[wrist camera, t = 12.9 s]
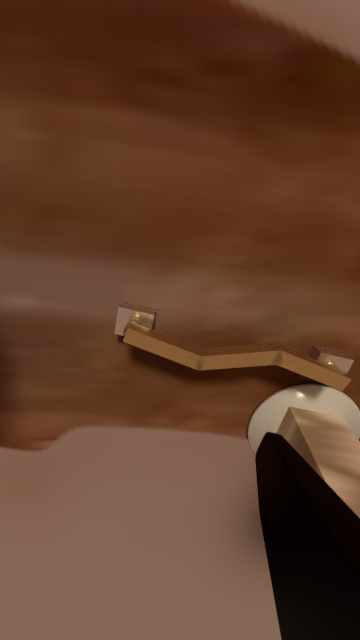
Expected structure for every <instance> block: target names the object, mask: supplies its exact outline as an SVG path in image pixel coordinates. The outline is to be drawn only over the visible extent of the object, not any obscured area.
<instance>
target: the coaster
mask: <svg viewBox="0 0 360 640" xmlns="http://www.w3.org/2000/svg"><path fill="white" fill-rule="evenodd" d="M289 406H290V407H295V408H300V409H304V410H309V411H314V412H318V413H323V414H328V415H332V416H337V417H342V418H343V419H344V421H345V422H346V423H347V425H348V426H349V428H350V429H351V431H352V432H353V433H354V435H355V436H356V438H357V439H358V440H359V438H360V411H359V409H358V407H357V406H356V404H355V403H354V402H353V401H352V400H351V399H350V397H348V396H347V395H346V394H345V393H343V392H342V391H340V390H338V389H336V388H333V387H330V386H327V385H322V384H299V385H294V386H290V387H287V388H284V389H281V390H279V391H277V392H275V393H273V394H272V395H270V396H269V397H267V398H266V399H265V400H263V401H262V402H261V403H260V404H259V405H258V406H257V408H256V409H255V410H254V412H253V413H252V415H251V417H250V420H249V423H248V429H247V435H248V440H249V444H250V446H251V449H252V451H253V453H254V454H255V455H256V452H257V449H258V447H259V445H260V443H261V441H262V439H263V437H264V435H265V433H266V432H273V433H277V431H278V429H279V426H280V424H281V422H282V420H283V418H284V416H285V414H286V412H287V410H288V407H289Z"/></svg>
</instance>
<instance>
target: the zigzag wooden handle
mask: <svg viewBox="0 0 360 640" xmlns="http://www.w3.org/2000/svg"><path fill="white" fill-rule="evenodd" d="M155 314H156V309H155V308H151V307H146V306H142V305H138V304H133V303H129V302H125V301H122V303H121V304H120V306H119V308H118V314H117V321H116V327H115V333H114V334H118V335H122V336H124V340H123V342H125V343H128V344H130V345H133V346H136V347H138V348H141V349H143V350H146V351H149V352H151V353H154V354H157V355H159V356H162V357H164V358H167V359H170V360H172V361H175V362H178V363H180V364H183V365H185V366H188V367H191V368H193V369H196V370H197V371H198V370H199V371H200V370H212V369H226V368H239V367H253V366H267V365H278V366H281V367H283V368H286V369H288V370H291V371H293V372H296V373H298V374H301V375H303V376H306V377H308V378H311V379H313V380H316V381H318V382H321V383H323V384H326V385H328V386H331V387H333V388H336V389H338V390H341V391H343V390H344V389H345V387H346V386H347V385H348V383H349V382H350V381H351V380H352V379H351V378H350V377H349V376H348V374H347V372H348V371H349V369H350V367H351V365H352V363H353V361H354V360H353V359H352V358H351V357H350V356H349V355H348V354H347V353H346V352H343V351H339V350H335V349H330V348H326V347H322V346H317V345H313V348H312V350H311V352H310V354H309V356H307V355H305V354H302V353H300V352H297V351H295V350H292V349H290V348H287V347H285V346H283V345H280V344H278V343H269V344H257V345H244V346H231V347H219V348H206V349H200V348H197V347H195V346H192V345H189V344H187V343H184V342H182V341H179V340H177V339H174V338H172V337H169V336H166V335H164V334H161V333H159V332H156V331H154V330H152V328H153V323H154V318H155Z"/></svg>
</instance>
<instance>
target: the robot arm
mask: <svg viewBox="0 0 360 640" xmlns="http://www.w3.org/2000/svg"><path fill="white" fill-rule="evenodd" d="M255 460H256V473H257V487H258V499H259V511H260V519H261V525H262V531H263V536H264V542H265V548H266V554H267V559H268V565H269V571H270V576H271V581H272V587H273V593H274V599H275V605H276V610H277V616H278V622H279V627H280V633H281V638H282V640H360V518H359V517H358V516H357V515H356V514H355V513H354V512H353V511H352V509H351V508H350V507H349V506H348V505H347V504H346V503H345V502H344V501H343V500H342V499H341V498H340V497H339V496H338V495H337V493H336V492H335V491H334V490H333V489H332V488H331V487H330V486H329V485H328V484H327V483H326V482H325V481H324V480H323V479H322V478H321V476H320V475H319V474H318V473H317V472H316V471H315V470H314V469H313V468H312V467H311V466H310V465H309V464H308V463H307V462H306V460H305V459H304V458H303V457H302V456H301V455H300V454H299V453H298V452H297V451H296V450H295V449H294V448H293V447H292V446H291V445H290V443H289V442H288V441H287V440H286V439H285V438H284V437H283V436H282V435H280V434H277V433H273V432H266V433H265V435H264V437H263V439H262V441H261V443H260V445H259V447H258V449H257V452H256V459H255Z"/></svg>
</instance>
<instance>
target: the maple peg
mask: <svg viewBox="0 0 360 640" xmlns="http://www.w3.org/2000/svg"><path fill="white" fill-rule="evenodd" d="M277 434H280V435H282V436H283V437H284V438H285V439H286V440H287V441H288V442H289V443H290V445H291V446H292V447H293V448H294V449H295V450H296V451H297V452H298V453H299V454H300V455H301V456H302V457H303V458H304V459H305V460H306V462H307V463H308V464H309V465H310V466H311V467H312V468H313V469H314V470H315V471H316V472H317V473H318V474H319V475H320V476H321V478H322V479H323V480H324V481H325V482H326V483H327V484H328V485H329V486H330V487H331V488H332V489H333V490H334V491H335V492H336V493H337V495H338V496H339V497H340V498H341V499H342V500H343V501H344V502H345V503H346V504H347V505H348V506H349V507H350V508H351V509H352V511H353V512H354V513H355V514H356V515H357V516H358V517H359V518H360V442H359V440H358V439H357V438H356V436H355V435H354V433H353V432H352V431H351V429H350V428H349V426H348V425H347V423H346V422H345V421H344V419H343V418H342V417H337V416H332V415H328V414H323V413H318V412H314V411H309V410H304V409H300V408H295V407H290V406H289V407H288V410H287V412H286V414H285V416H284V418H283V420H282V422H281V424H280V426H279V429H278V431H277Z"/></svg>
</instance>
